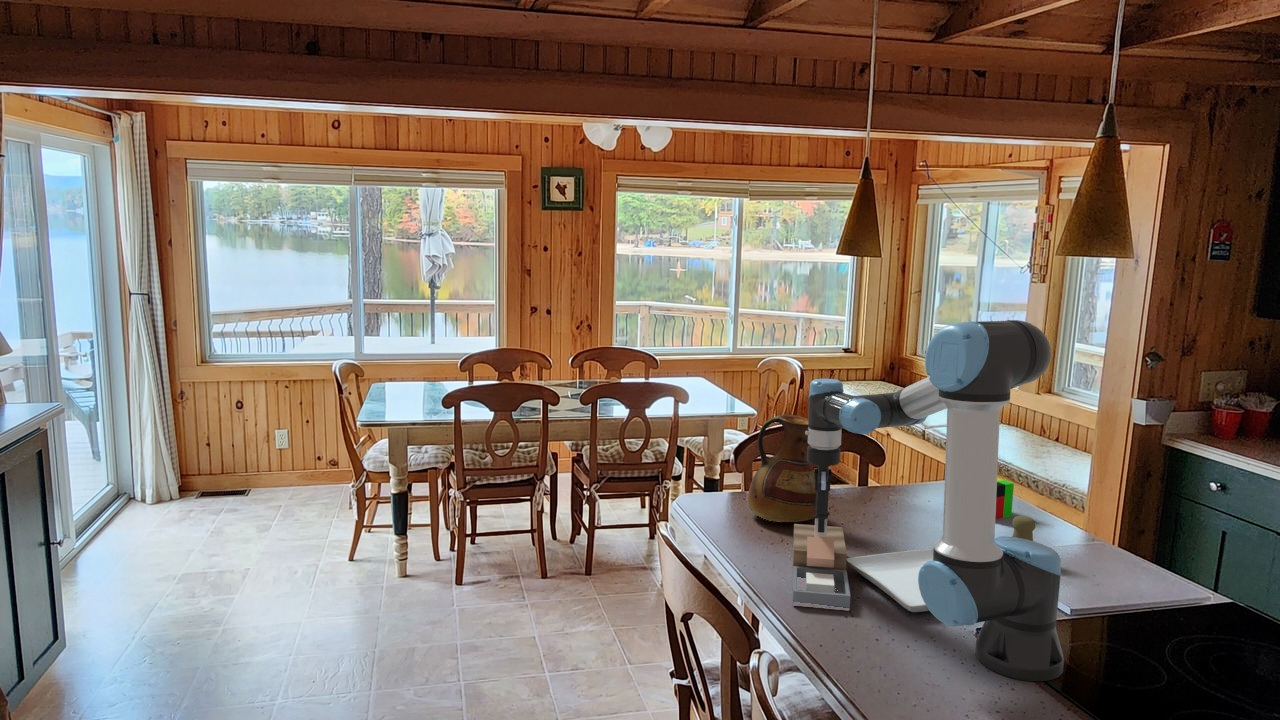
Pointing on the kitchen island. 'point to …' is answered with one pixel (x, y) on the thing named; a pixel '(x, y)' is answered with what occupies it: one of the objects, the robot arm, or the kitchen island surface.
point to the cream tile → (819, 582)
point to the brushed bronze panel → (809, 530)
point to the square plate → (896, 575)
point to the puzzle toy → (1004, 499)
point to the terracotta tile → (820, 552)
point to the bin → (823, 598)
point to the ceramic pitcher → (784, 476)
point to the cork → (1023, 527)
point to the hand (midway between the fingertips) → (820, 543)
